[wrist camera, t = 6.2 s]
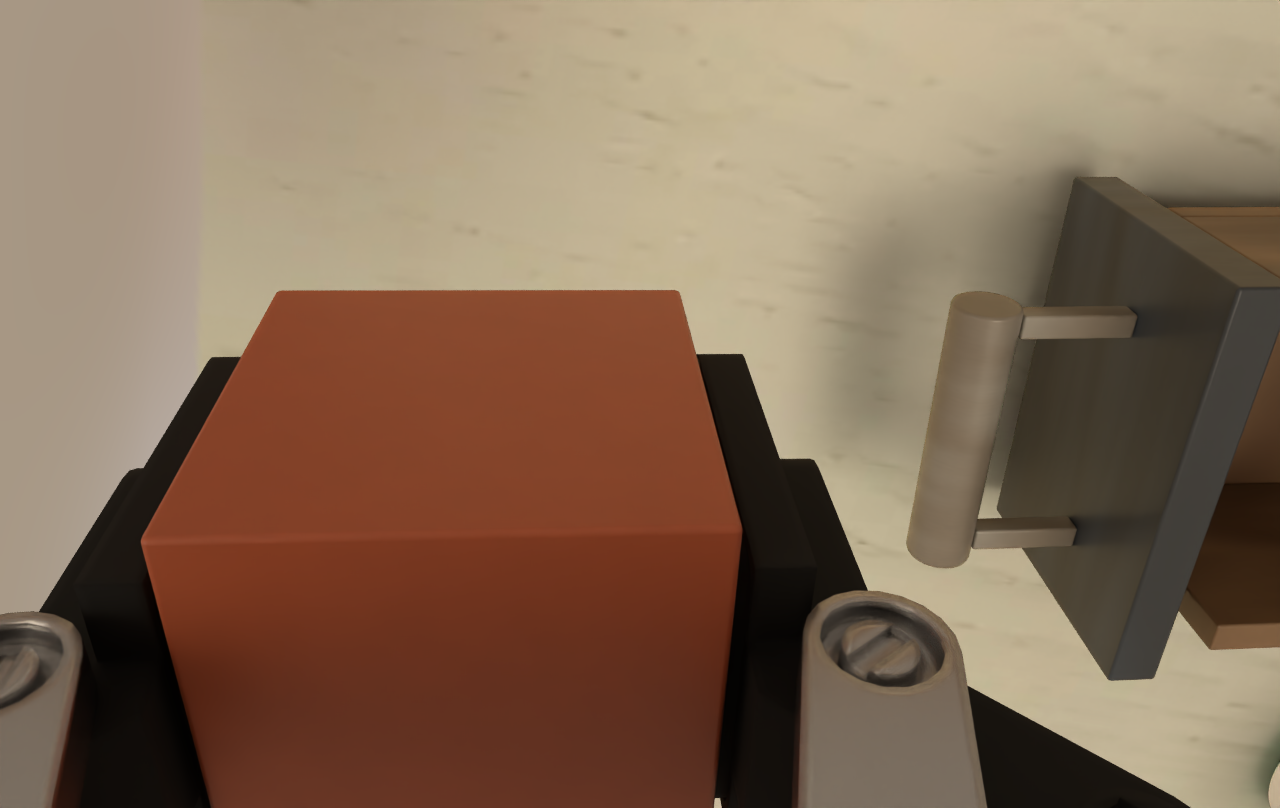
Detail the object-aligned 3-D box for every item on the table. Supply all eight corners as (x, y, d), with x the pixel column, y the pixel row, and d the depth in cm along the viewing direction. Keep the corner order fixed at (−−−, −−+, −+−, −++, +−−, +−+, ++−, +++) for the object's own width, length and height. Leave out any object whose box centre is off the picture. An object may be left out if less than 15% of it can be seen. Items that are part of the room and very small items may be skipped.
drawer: (857, 512, 31) (936, 689, 25) (909, 176, 26) (1026, 290, 20) (1379, 498, 32) (1580, 662, 26) (1525, 175, 27) (1819, 282, 21)
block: (276, 287, 11) (135, 540, 7) (680, 288, 11) (745, 528, 8) (325, 600, 13) (236, 916, 10) (663, 591, 14) (706, 893, 10)
